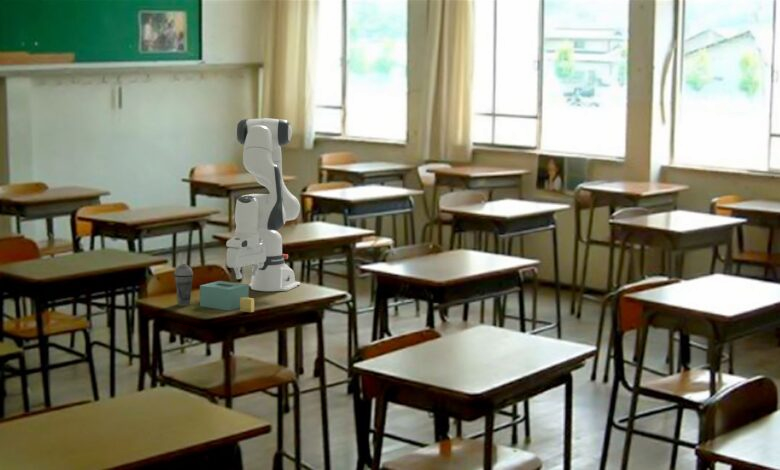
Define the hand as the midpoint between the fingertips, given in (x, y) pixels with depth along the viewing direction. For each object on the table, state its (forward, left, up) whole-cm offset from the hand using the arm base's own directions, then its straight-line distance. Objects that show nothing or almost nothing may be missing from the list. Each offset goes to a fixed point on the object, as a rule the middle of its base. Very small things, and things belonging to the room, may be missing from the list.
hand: (246, 277), depth 449 cm
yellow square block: (0, 0, -13) cm, 13 cm away
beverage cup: (+4, -27, -13) cm, 30 cm away
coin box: (-3, -13, -13) cm, 19 cm away
